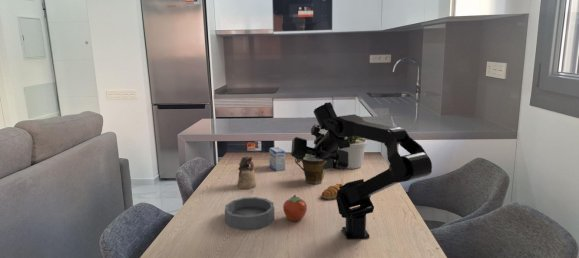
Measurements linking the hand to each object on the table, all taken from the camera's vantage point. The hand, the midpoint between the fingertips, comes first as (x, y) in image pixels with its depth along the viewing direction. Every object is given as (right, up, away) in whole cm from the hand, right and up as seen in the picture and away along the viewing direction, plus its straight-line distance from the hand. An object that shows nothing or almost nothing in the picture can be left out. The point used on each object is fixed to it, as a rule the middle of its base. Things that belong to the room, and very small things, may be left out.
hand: (309, 165), depth 130 cm
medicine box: (-12, -5, +42) cm, 44 cm away
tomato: (-5, -16, -7) cm, 18 cm away
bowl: (-19, -16, -6) cm, 26 cm away
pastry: (+10, -12, +11) cm, 19 cm away
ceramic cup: (+2, -9, +26) cm, 28 cm away
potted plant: (+20, -5, +43) cm, 48 cm away
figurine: (-23, -10, +22) cm, 33 cm away
